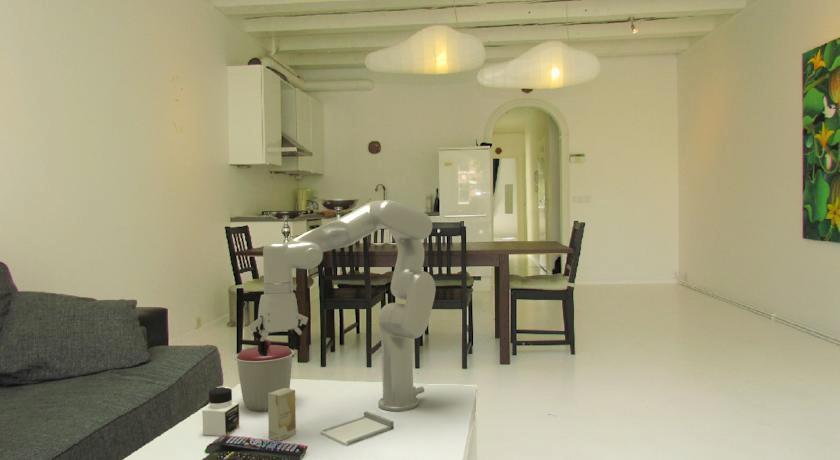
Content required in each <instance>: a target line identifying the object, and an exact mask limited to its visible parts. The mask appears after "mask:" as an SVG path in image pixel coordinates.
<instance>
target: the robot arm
mask: <svg viewBox="0 0 840 460" xmlns="http://www.w3.org/2000/svg"><path fill="white" fill-rule="evenodd" d="M381 229H384V230H385V229H387V230H388V231H389V233H390V235H391V236H392V238H393V239H394V241H395V243H396V246H397V257H396V261H395V262H396V263H395V266H394V270H393V274H392V277H391V282H390V293H391V294H392V295H393V297H395V298H397V299H400V300H403V301H405V303H399V302H390V303H386V304H385V305H384V306H382V308H381V309H380V310H379V313H378V317H377V325H378V330H379V333H380V334H379V335H380V340H381V341H380V342H381V365H382V366H381V368H382V369H381V370H382V372H381V373H382V397H381V398H380V399H379V400H378V401H377V403H378V404H377V405H378V408H380V409H382V410H386V411H391V412H399V411H400V412H402V411H408V410H411V409H412V410H413V409H414V408H416V407H417V406H418V405H419V398H418V397H417V396H418V395H419V394H422V393H425V388H424V386H419V387H416V386H414V366H413V365H414V364H413V363H414V361H413V344H412V339H418V338H420V337H421V336H422V335H424V334H425V332H426V330H427V328H428V325H429V322H430V318H431V313H432V309H433V307H434V305H433V304H434V301H435V297H436V288H437V287H436V282H435V280H434V278H433V276H432V275H431V274H430V273H428V272H426V271H423V267H424V263H425V262H424V261H425V248H424V245H423V242H422V240H425V239H427V238H428V237H429V236H430V235H431V233H432V231H433V221H432V219H431V217H430V216H429V215H428V214H427V213H426V212H424V211H422V210H419V209H416V208H414V207H411V206H408V205H406V204H402V203H401V202H398V201H395V200H391V199H384V200H383V199H382V200H373V201H370V202H367V203H365V204H363V205H361V206H359V207H358V208H356V209H354V210H353V211H350V212H348V213H347V214H345V215H343V216H341V217H338V218H337V219H335V220H332V221H330V222H328V223H326V224H323V225H321V226H318V227H316V228H314V229H311V230H309V231H307V232H305V233H303V234H301V235H299V236H297V237H295V238H294V239H292V240H290V241H288V242H271V243H270V242H269V243H267V244H265V245H264V246H263V248H262V251H263V252H262V255H263V256H262V259H263V260H262V261H263V262H262V263H263V267H262V268H263V294H261V295H260V298H259V304H258V312H257V313H258V314H257V319H256V320H254V321H252V322H251V323H250V324H248V326H247V329H248V330H249V332H250V335H251V336H252V337H253V338H254V339H255V340H257V346H258V352H259V354H260V355H262V356H267V341H265V339H266V338H267V337H268V336H269V334H272V333H279V332H285V331H291V332H292V333H291V349H292V350H294V351H299V350H300V347H301V346H300V345H301V335H302V334H303V331H304V330H305V329H306V327H307V326H306V325H307V323H308V320H309V317H308V316H305V315H303V314H302V313H299V309H298V308H299V307H298V303H297V297H296V293H295V292H293V291H294V289H296V288H297V283H296V282H294V281H293V269H302V270H311V269H314V268H316V267H318V266H319V265H320V264H321V263H322V261H323V257H324V253H325V252H327V251H330V250H336V249H341V248H346V247H349V246H352V245H354V244H355V243H357V242H359V241H361V240H363V239H364V238H366V237H367V236H370V235H371V234H372V233H375V232H377V231H378V230H381ZM299 320H300V323H299ZM257 330H258V331H259V332H258V331H257Z"/></svg>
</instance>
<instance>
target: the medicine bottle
mask: <svg viewBox="0 0 840 460" xmlns="http://www.w3.org/2000/svg"><path fill="white" fill-rule="evenodd" d="M232 392H233V390H232V388H231V387H230V386H217V387H214V388H212V389H210V390H209V391H208V406H206V407H204V408H203V409H202V410H201V411H202V412H201V414H202V417H201V418H202V435H203V436H213V437H215V436H216V437H224V436H223V435H227V436H229V435H230V434H231V433H233V432H234V431H236V430H237V429H239V428H240V411H239V409H240V407H239V405H240V404H239V402H237V401H235V402H234V401H233V393H232ZM228 434H229V435H228Z"/></svg>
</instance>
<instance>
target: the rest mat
mask: <svg viewBox="0 0 840 460" xmlns="http://www.w3.org/2000/svg"><path fill="white" fill-rule="evenodd" d="M394 426H395V425H394V421H393V420H391V419H387V418H385V417H383V416H380V415H377V414H374V413H373V412H370V411H364V412H363V416H361V417H359V418H355V419H353V420H350V421H347V422H344V423H340V424H338V425H335V426H331V427H329V428H326V429H323V430H320V431H319V433H320V435H321V436H324V437H326V438H329V439H331V440H333V441H335V442H337V443H338V444H339V443H340V444H341V445H343V446H346V447H347V446H351V445H353V444H357V443H359V442H360V441H364V440H367V439H369V438H373V437H375V436H377V435H380V434H383V433H386V432H388V431H391V430H394V429H395V427H394Z"/></svg>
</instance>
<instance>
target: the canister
mask: <svg viewBox="0 0 840 460" xmlns="http://www.w3.org/2000/svg"><path fill="white" fill-rule="evenodd" d="M265 341H267V356H262V355H260V354H259V352H258V345H257V346H256V345H255V346H253V347H248V348H246V349H245V348H244V349H242V350H241V351H240V352H238V353H237V354H236V355H235V356H234V360H235V361H236V362H237V370H238V376H239V383H240V391H241V397H242V401H243V404H244V406H245V407H246V408H247V409H248V410H250V411H255V412H265V411H266V412H268V393H271V392H274V391H276V390H280V389H283V388H288V389H291V388H290V387H291V377H292V365H293V356H294V355H295V350H294V349H292V348H290V347H288V346H285V345H280V344H279V345H278V344H271V341H270V339H265Z"/></svg>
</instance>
